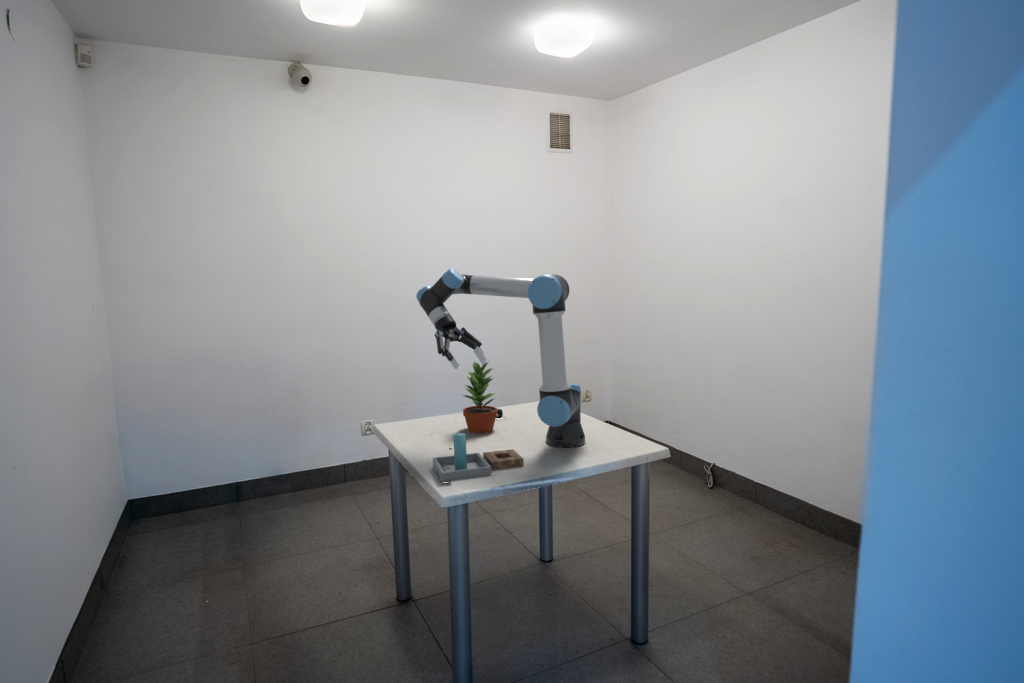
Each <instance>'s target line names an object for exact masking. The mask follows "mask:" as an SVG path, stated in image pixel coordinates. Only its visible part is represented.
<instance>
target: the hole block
mask: <svg viewBox="0 0 1024 683" xmlns="http://www.w3.org/2000/svg"><path fill="white" fill-rule="evenodd" d="M482 457H483V458H484V459H485V461H486V462H487V463H488V464H489V465H490V466H491V471H493V470H495V471H496V470H502V469H503V470H504V469H509V468H517V467H525V466H524V457H522V456H521V455H520V454H519V453H518V452H517V451H516V450H514V449H513V448H512V449H507V450H506V449H505V450H495V451H493V450H492V451H486V452H483V453H482Z"/></svg>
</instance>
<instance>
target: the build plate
mask: <svg viewBox="0 0 1024 683" xmlns="http://www.w3.org/2000/svg"><path fill="white" fill-rule="evenodd" d="M503 414H504V413H503V409H501V408H497V415H496V418H501V417H504V416H503Z"/></svg>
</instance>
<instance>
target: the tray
mask: <svg viewBox="0 0 1024 683" xmlns="http://www.w3.org/2000/svg"><path fill="white" fill-rule="evenodd" d="M466 454H467V463H470V462H477V463H478V464H479V466H480V467H474V468H467V469H463V470H455V469H454V470H448V471H447V470H446V469H445V467H444V466H445V465H453V464H454V465H455V459H454V454H453V455H446V456H437V457H432V469H433V468H434V469H435V470H434V469H433V470H434V472H435V471H436V472H435V474H436V473H437V474H438V476H439V477H438V476H437V477H438V479H439V478H440V479H441V481H442V482H451V481H453V480H460V479H461V480H462V479H469V478H478V477H484V476H485V477H486V476H491V475H492V469H491V466H490V465H489V464H488V463H487V462H486V461H485V459H484V458H483V455H481V454H480V452H473V453H466ZM437 474H436V475H437ZM440 479H439V480H440ZM441 481H440V482H441Z"/></svg>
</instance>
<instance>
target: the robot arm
mask: <svg viewBox="0 0 1024 683" xmlns="http://www.w3.org/2000/svg"><path fill="white" fill-rule="evenodd" d="M569 285H570V284H569V283H568V281H567V280H566V278H564V276H561V275H558V274H552V273H551V274H549V273H547V274H540V275H536V276H535V277H534V278H532V277H531V278H529V277H509V276H492V275H491V276H490V275H471V274H470V275H469V274H461V273H460V272H459V271H458V270H456V269H454V268H448V269H447V271H445V272H444V273H443V274H442V275H441V277H440V278H438V280H437V281H436V282H435V283H434V284H433V285H432V286H430V285H426V286H423V287H422V288H420V289H419V290H418V291H417V292H416V297H415V298H416V299H417V301H418V303H419V306H420V307H421V308H422V310H423V311H424V312H425V314H426V316H427V317H428V319H429V320H430V322H431V323H432V325H433V327H434V328H435V330H436V332H435V333H434V337H435V340H436V346H437V353H438V354H439V355H441V356H442V357H446V359H447V360H448V362H450V364H451V365H452V367H453V368H454V370H457V369H459V367H460V365H461V363H460V361H459V360H458V358H457V357H456V355H455V354H454V352H453V351H452V349H450V345H451V344H450V343H452V342H458V343H462V344H463V345H465V346H467V347H468V348H470V349H472V350H473V353H474V354H475V356H476V357H477V359H478V360H479V362H480V364H481V365H483V364H485V363H487V362H488V358H487V357H486V356H485V354H484V351H483V350H482V349H481V346H482V345H483V343H482V342H481V341H480V340H479V339H477V338H476V337H475V336H474V335H472V334H471V333H470V332H469V331H468V330H467V329H466V328H465V327H462V328H461V329H460V328H458V327H457V322H456V321H455V319H454V318H453V316H452V315H451V313H450V312H449V310H448V309H447V307H446V306H445V304H444V303H445V302H447V300H449V299H450V297H451V296H453V295H459V294H460V295H478V296H479V295H480V296H491V297H492V296H493V297H494V296H495V297H504V298H505V297H506V298H507V297H509V298H522V299H528V300H529V302H530V303H531V305H532V314H533V315H534V316H535V317H536V318H537V325H538V326H537V328H538V338H539V339H538V340H539V350H540V364H541V373H542V374H541V375H542V377H541V378H542V384H541V386H540V387H539V389H538V390H539V401H538V404H537V409H536V410H537V416H538V417H539V419H540V421H541V422H542V423H544V425H547V426H548V429H547V432H546V435H545V442H546V443H547V445H550V446H552V445H553V446H554V447H557V446H562V447H561V448H571V447H570V446H576V447H578V446H577V445H580V444H582V443H584V442H585V443H586V435H585V432H584V428H583V426H582V422H581V419H582V418H581V416H582V415H581V412H582V411H581V408H582V407H581V404H582V403H581V401H582V400H581V399H582V398H581V397H582V396H581V395H582V394H581V393H582V391H581V385H580V384H578V383H573V382H571V383H568V382H567V369H566V356H565V343H564V329H563V317H562V316H563V315H565V313H566V311H567V310H566V301H567V299H568V298H569V295H570V286H569ZM443 338H444V339H443ZM585 443H584V444H585ZM580 446H581V445H580Z"/></svg>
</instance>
